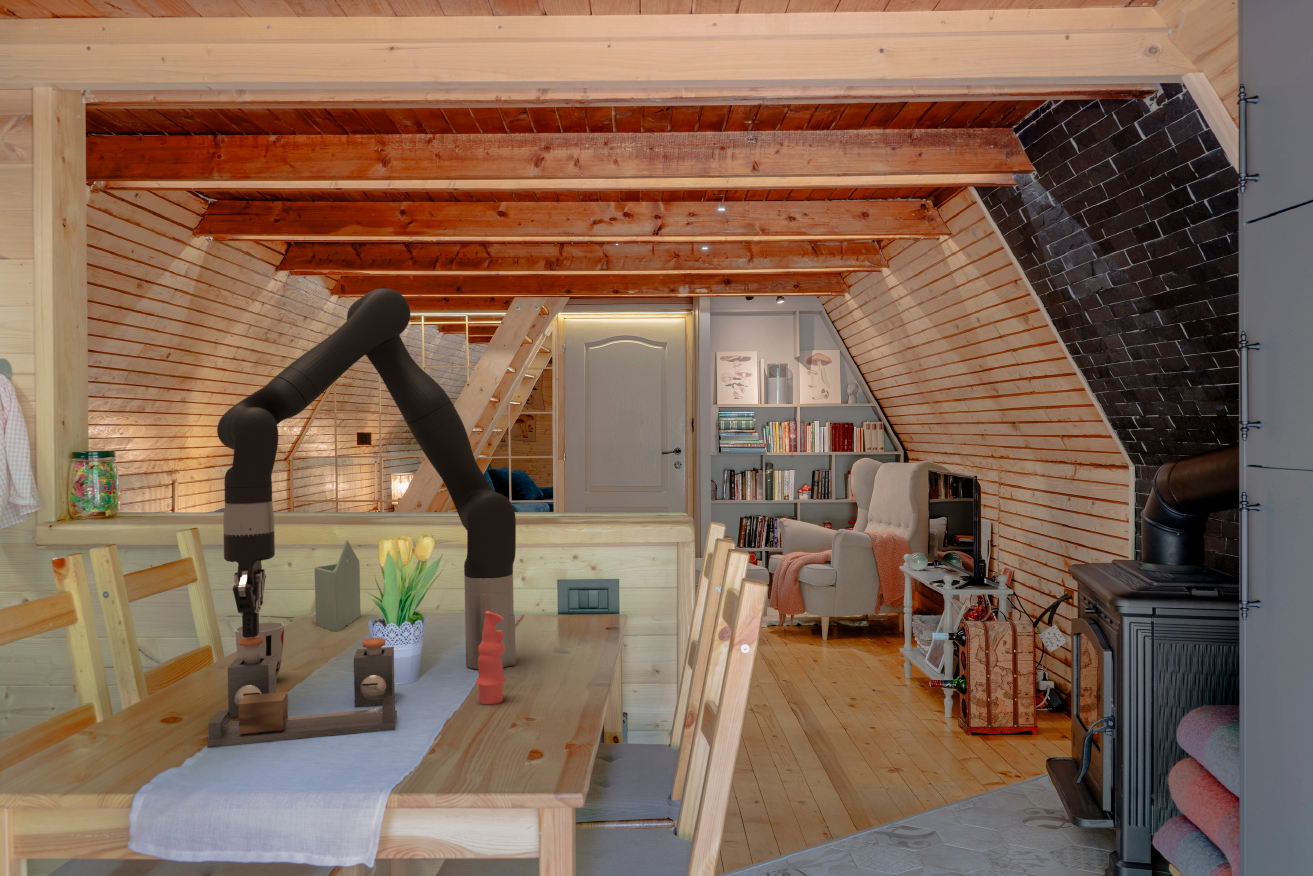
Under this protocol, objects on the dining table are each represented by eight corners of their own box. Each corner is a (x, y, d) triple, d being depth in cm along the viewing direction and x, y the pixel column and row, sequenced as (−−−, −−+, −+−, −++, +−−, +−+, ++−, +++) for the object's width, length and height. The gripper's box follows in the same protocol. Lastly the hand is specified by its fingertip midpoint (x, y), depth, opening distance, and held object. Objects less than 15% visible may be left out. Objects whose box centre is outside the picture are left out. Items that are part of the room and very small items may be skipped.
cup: (266, 689, 153) (265, 633, 153) (226, 687, 155) (224, 631, 154) (294, 676, 161) (293, 622, 161) (255, 674, 163) (254, 621, 162)
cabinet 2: (394, 693, 150) (393, 646, 150) (392, 704, 144) (391, 656, 144) (358, 696, 148) (357, 649, 148) (354, 707, 142) (353, 659, 142)
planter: (328, 617, 212) (326, 536, 212) (361, 616, 212) (359, 535, 212) (302, 632, 196) (300, 545, 196) (337, 632, 196) (335, 544, 196)
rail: (396, 716, 138) (396, 695, 137) (394, 729, 132) (394, 707, 132) (217, 733, 131) (217, 710, 131) (207, 747, 125) (206, 723, 125)
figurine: (512, 697, 147) (511, 608, 146) (497, 706, 142) (496, 615, 142) (486, 694, 148) (484, 607, 148) (470, 703, 143) (468, 613, 143)
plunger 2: (386, 661, 148) (385, 637, 148) (385, 667, 145) (384, 642, 145) (364, 663, 148) (363, 638, 147) (362, 669, 144) (361, 643, 144)
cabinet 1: (276, 703, 145) (275, 655, 145) (268, 715, 139) (267, 665, 139) (237, 706, 144) (236, 658, 144) (228, 718, 138) (226, 668, 138)
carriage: (288, 720, 133) (287, 691, 133) (283, 730, 129) (282, 700, 129) (245, 724, 131) (245, 695, 131) (239, 734, 127) (238, 704, 127)
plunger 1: (266, 660, 144) (265, 635, 144) (261, 666, 140) (261, 640, 140) (242, 662, 143) (241, 636, 143) (237, 667, 139) (237, 641, 139)
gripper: (265, 534, 136) (267, 644, 136) (281, 525, 149) (282, 626, 149) (213, 536, 134) (215, 648, 134) (233, 526, 147) (235, 628, 147)
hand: (250, 636), depth 142 cm, fingers closed
